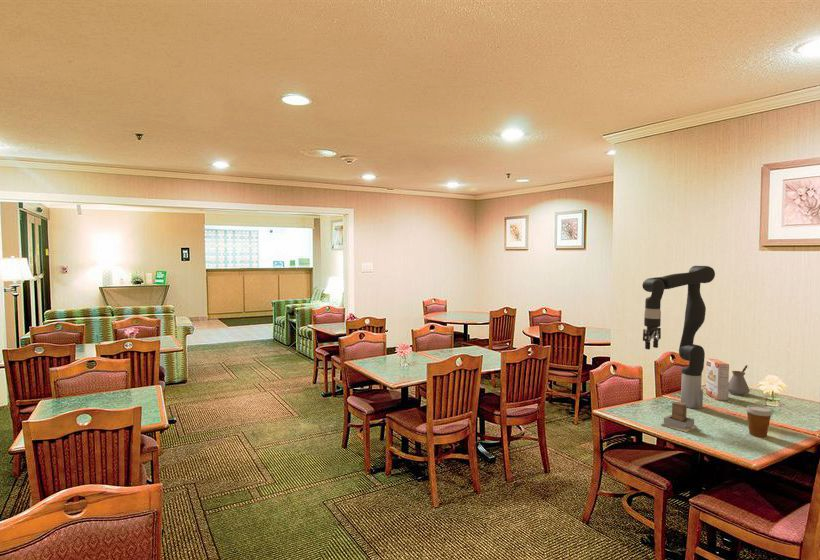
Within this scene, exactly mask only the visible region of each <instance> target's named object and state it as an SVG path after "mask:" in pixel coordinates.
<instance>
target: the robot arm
mask: <svg viewBox="0 0 820 560" xmlns="http://www.w3.org/2000/svg"><path fill="white" fill-rule="evenodd" d="M715 277H716V272H715V269H714V268H713V267H711V266H709V265H693V266H691V267H690V268H689V270H688V272H680V273H673V274H668V275H664V276H658V277H650V278H647V279H645V280H644V281H643V283H642V284H641V285H642V289H643V290H644V291H645V292H647V293H651V294H650V296H648V297H646V298H645V300H644V303H645V306H644V315H643V316H644V318H643V319H644V320H643V321H644V322H643V324H644V327H646V328H644V329H643V330H642V341H643V342H645V343H644V349H645V350H651V340H652V347H653V348H655V349H658V348H659V341H660V340H661V338H662V332H661V331H662V330H661V324H662V323H661V322H662V321H661V318H662V312H661V301H662V299H663V295H664V292H665V290H670V289H671V290H672V289H675V288H679V287H683V286H686V285H687V295H686V296H687V297H686V304H685V311H684V321H683V322H684V323H683V324H684V325H683V328H682V334H681V338H680V343H679V349H678V354H679V357H680V358H681V360H684V361H689V362H688V365H687V366H684V367H682V368H681V379H680V380H681V387H680V389H681V390H680V402H681V403H685V404H687V408H688V409H702V408H703V403H704V402H703V401H704V399H703V398H704V389H702V381H703V380H702V379H703V378H702V377H703V370H704V367H705V358H706V357H705V349H704V348H703V347H702V346H701V345H698V344H695V343H694V340H695V337H696V336H695V335H697V332H698V331H699V330H700V328H701V327H702V326H703V324H704V322H705V320H706V319H705V318H706V312H707V311H706V310H707V309H706V303H705V302H704V299H703V298H702V294H701V284H707V283H711V282H712V281H714V279H715Z"/></svg>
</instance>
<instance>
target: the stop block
mask: <svg viewBox="0 0 820 560" xmlns="http://www.w3.org/2000/svg"><path fill="white" fill-rule="evenodd" d="M687 408H688V407H687V404H685V403H681V401H675V402H672V405H671V415H672V419H674V420H678V421H682V422H685V421H686V417H687Z"/></svg>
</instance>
